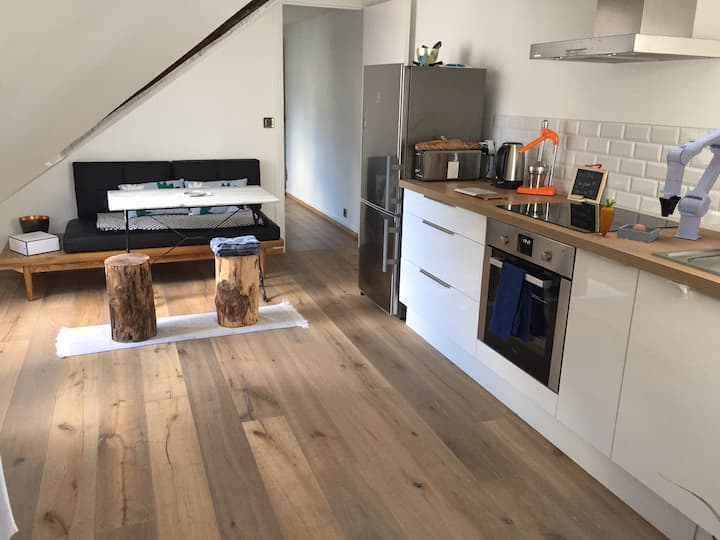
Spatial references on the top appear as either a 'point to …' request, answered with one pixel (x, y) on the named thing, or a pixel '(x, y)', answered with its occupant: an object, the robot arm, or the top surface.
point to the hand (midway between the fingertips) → (666, 215)
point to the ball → (639, 228)
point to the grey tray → (638, 233)
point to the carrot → (606, 217)
